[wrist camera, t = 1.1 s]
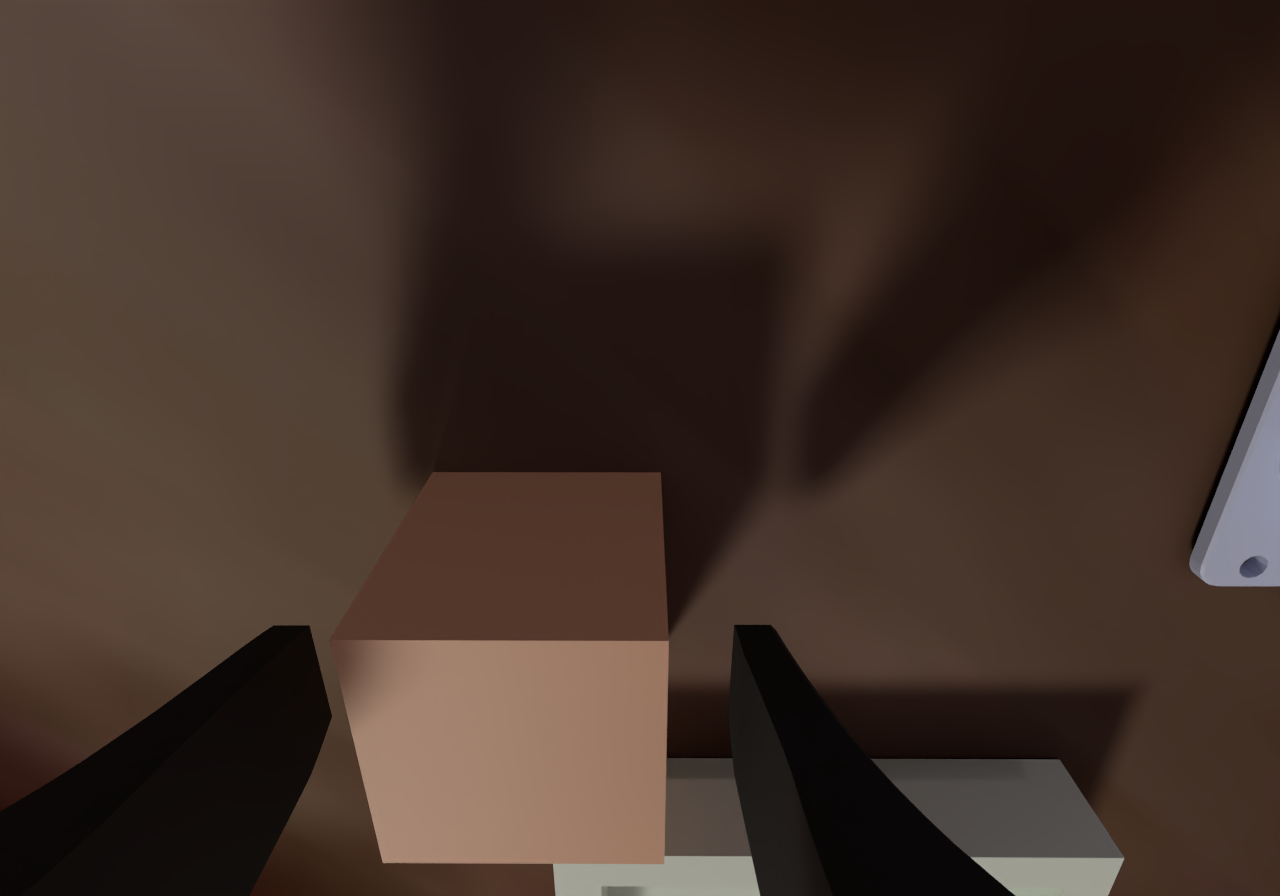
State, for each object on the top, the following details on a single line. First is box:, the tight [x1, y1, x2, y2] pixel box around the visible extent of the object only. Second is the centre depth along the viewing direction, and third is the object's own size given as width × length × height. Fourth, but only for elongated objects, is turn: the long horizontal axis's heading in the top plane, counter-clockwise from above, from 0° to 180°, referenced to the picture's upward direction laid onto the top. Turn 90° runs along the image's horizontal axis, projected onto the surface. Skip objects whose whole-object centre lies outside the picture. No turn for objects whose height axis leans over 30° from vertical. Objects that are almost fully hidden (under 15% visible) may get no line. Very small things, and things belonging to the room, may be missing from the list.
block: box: [330, 472, 669, 864], centre depth 12 cm, size 4×4×5 cm
